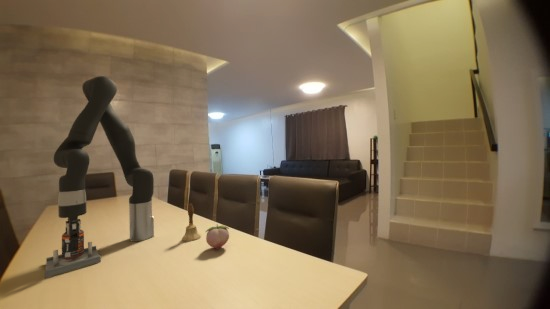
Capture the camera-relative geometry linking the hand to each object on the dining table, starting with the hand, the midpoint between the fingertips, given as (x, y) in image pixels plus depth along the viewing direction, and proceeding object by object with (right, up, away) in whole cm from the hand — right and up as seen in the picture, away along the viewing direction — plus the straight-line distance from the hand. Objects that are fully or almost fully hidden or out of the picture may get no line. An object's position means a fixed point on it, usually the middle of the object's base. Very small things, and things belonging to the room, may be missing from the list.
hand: (73, 247), depth 79 cm
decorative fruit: (+51, -4, +9) cm, 52 cm away
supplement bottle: (0, -3, 0) cm, 3 cm away
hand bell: (+35, -5, +22) cm, 42 cm away
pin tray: (0, -6, 0) cm, 6 cm away
